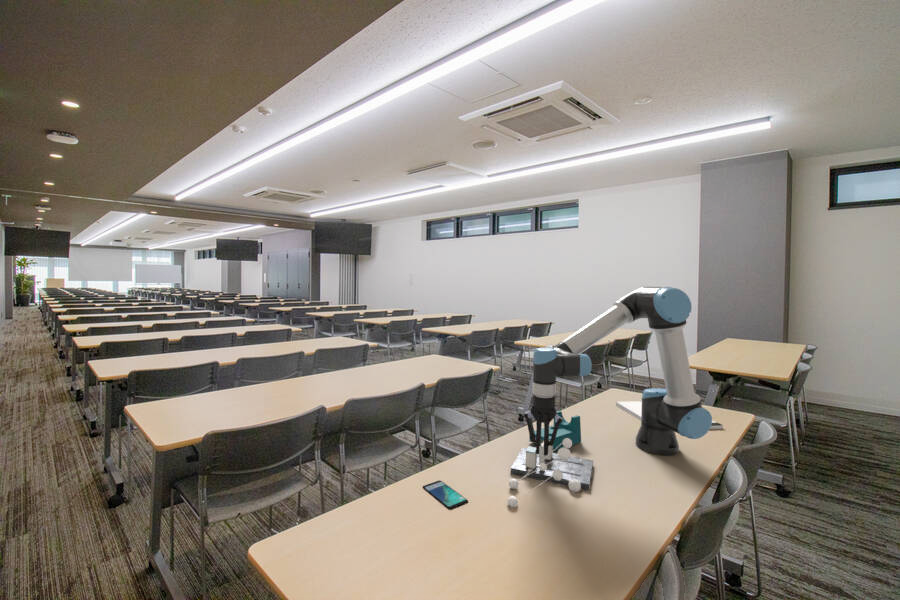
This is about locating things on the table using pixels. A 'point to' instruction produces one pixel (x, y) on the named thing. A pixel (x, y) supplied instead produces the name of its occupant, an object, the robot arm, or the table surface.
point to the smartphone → (445, 494)
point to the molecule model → (557, 474)
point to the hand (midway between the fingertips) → (541, 463)
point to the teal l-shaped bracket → (564, 431)
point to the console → (580, 469)
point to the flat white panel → (636, 411)
